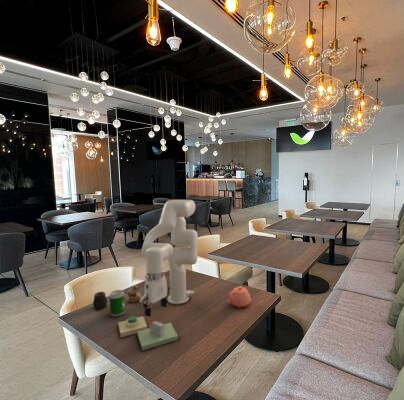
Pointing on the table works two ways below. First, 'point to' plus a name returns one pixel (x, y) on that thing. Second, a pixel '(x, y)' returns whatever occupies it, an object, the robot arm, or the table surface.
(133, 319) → the button
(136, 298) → the chocolate bunny
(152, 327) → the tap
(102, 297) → the mate gourd
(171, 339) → the panel
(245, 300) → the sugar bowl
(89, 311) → the table surface
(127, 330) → the button box
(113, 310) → the soda can
